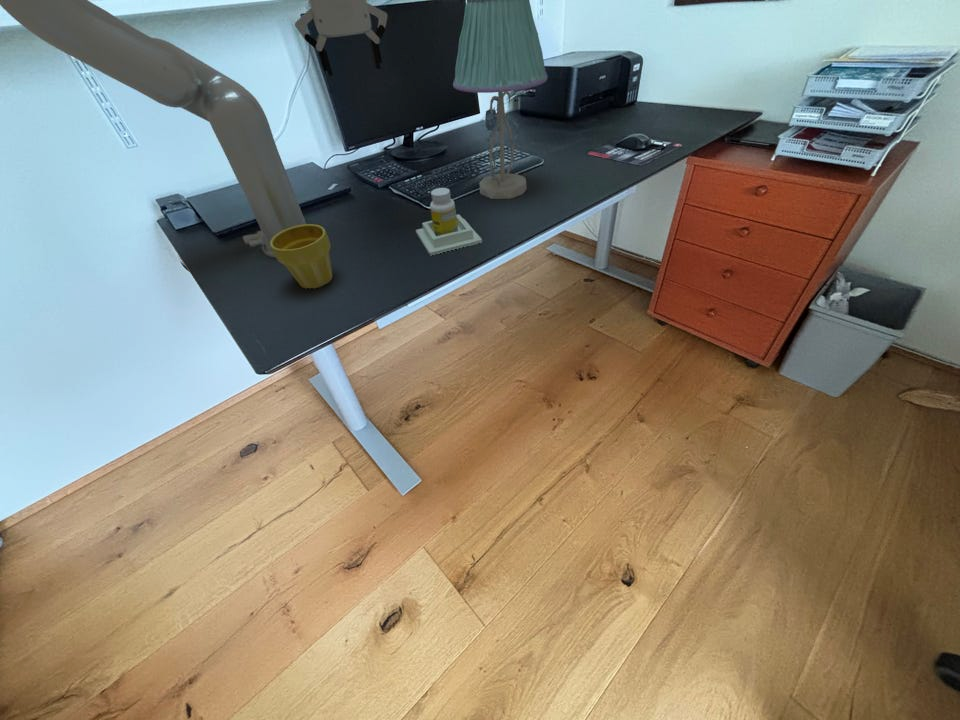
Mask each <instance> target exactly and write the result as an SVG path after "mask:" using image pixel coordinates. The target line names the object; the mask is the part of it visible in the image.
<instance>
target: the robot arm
mask: <svg viewBox="0 0 960 720" xmlns="http://www.w3.org/2000/svg"><path fill="white" fill-rule="evenodd" d="M308 3H309V6H310V8H309V9H308V10H307V11H306V12H305V13H303V15H301V17H299V19H297V20H296V21H295V23H294V26H295V28H296V29H297V31H298V32H299V34H300V35H301V37H303V39H304V40H305V41H306V42H307V43H308V44H309V45H310V46H312V48H314V49H315V50H316V51H317V52H318V55H319V56H318V57H319V59H320V64H321V68H322V71H323V72H326V73H327V75H328V77H332V76H333V72H332V67H331V64H330V61H329V57H328V52H327V50H326V49H325V47H324V46H325V44H326V41H327V39H328V38H338V37H346V36H354V35H361V34H365V36H366V37H368V39H369V40H370V44H369V48H370V53H371V57H372V62H373V67H374V68H375V69H376V70H381V64H382V63H383V59H382V55H381V50H380V45H379V44H380V42H381V39H382V37H383V35H384V34H385V31H386V26H387V21H388V13H387V12H385V11H383V10H382V9H380V8H378V7H376V6H374V5H372V4H371V3H368V2H367V0H308ZM0 7H1V8H3V10H5V11H6V13H7V14H9V15H10V16H11V17H12V18H13V19H14V20H15V21H16V22H18V23H19V24H20V25H21V26H22V27H24V28H25V29H27V30H28V31H29V32H30V33H32V35H35V36H36V37H38V38H39V39H41V40H42V41H44V42H45V43H47V44H49V45H51V46H53V47H54V48H56V49H57V50H59V51H61V52H62V53H64V54H66V55H68V56H70V57H73V58H74V59H76V60H78V61H80V62H82V63H84V64H86V65H87V66H89V67H91V68H93V69H95V70H97V71H99V73H100V72H101V73H102V74H104V75H105V76H108V77H110V78H111V79H113V80H115V81H118V83H119V82H120V83H121V84H123V85H124V86H125V85H126V86H127V87H129V88H131V89H132V90H135V91H137V92H139V93H141V94H142V95H144V96H146V97H148V98H149V99H151V100H153V101H154V102H156V103H158V104H160V105H162V106H163V105H164V106H166V107H169V108H174V109H175V108H181V109H183V110H185V111H186V112H189V113H191V114H193V115H195V116H197V117H199V118H201V119H203V120H205V121H207V122H208V123H209V124H210V126H211V128H212V130H213V133H214V135H215V137H216V139H217V140H218V143H219V145H220V147H221V148H222V151H223V153H224V155H225V157H226V159H227V161H228V163H229V165H230V167H231V169H232V172H233V174H234V175H235V178H236V180H237V183H238V184H239V186H240V188H241V190H242V192H243V194H244V196H245V198H246V201H247V203H248V205H249V207H250V209H251V211H252V213H253V215H254V218H255V219H256V222H257V224H258V226H259V228H260V230H259V231H256V233H254V234H247V235H243V236H242V239H243V241H244V243H245V245H246V246H247V245H249V246H250V247H251V248H252V247H257V246H260V245H261V249H262V252H263V253H264V254H265V255H266V256H268V257H270V258H275V259H277V258H276V256H275V254H274V252H273V250H272V248H271V246H270V241H271V239H272V238H273V237H274V236H275V235H276V234H278V233H279V232H281V231H283V230H285V229H288V228H291V227H294V226H298V225H304V224H307V222H306V219H305V217H304V215H303V212H302V210H301V207H300V204H299V202H298V198H297V196H296V194H295V191H294V189H293V185H292V183H291V181H290V178H289V176H288V172H287V170H286V168H285V165H284V164H283V160H282V158H281V156H280V153H279V150H278V148H277V144H276V142H275V138H274V135H273V132H272V129H271V125H270V123H269V121H268V118H267V115H266V114H265V113H266V112H265V111H264V109H263V107H262V105H261V104H260V103H259V101H258V99H257V98H256V97H255V96H254V95H253V94H252V93H251V92H250V91H249V90H247V89H246V88H245V87H244V86H243V85H241V84H240V83H238V82H237V81H236V80H234V79H232V78H231V77H229V76H227V75H225V74H224V73H223V72H221V71H219V70H217V69H216V68H215V67H212V66H210V65H209V64H207V63H205V62H203V61H202V60H200V59H198V58H196V57H195V56H193V55H192V54H191V53H189V52H186V51H185V50H184V49H182V48H181V47H178V46H176V45H175V44H173V43H172V42H169V41H166V40H165V39H161V38H158V37H151V36H149V35H148V34H146V33H144V32H142V31H140V30H139V29H137V28H135V27H133V26H132V25H130V24H128V23H126V22H124V21H123V20H121V19H119V18H117V17H116V16H115V15H114V14H112V13H110V12H109V11H108V10H105V9H103V8H101V7H100V6H98V5H96V4H95V3H93V2H91V1H90V0H0ZM370 14H371V15H373V16H375V17H376V18H377V19H378V24H377V27H376V29H375V30H373V29H372V19H371V15H370ZM312 20H313V22H314V25H315V28H316V31H317V33H318V34H317V37H316V39H315V38H314V37H313V36H311V35H310V33H309V32H308V31H307V28H306V26H307V25H309V23H310V22H312Z"/></svg>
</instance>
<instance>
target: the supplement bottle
mask: <svg viewBox="0 0 960 720" xmlns="http://www.w3.org/2000/svg"><path fill="white" fill-rule="evenodd" d="M430 195H431V200H432V201H431V202H430V205H429V208H430V209H429V210H430V216H431V221H432V222H433V228H434V234H435V235H436V236H440V235H444V234H448V233H452V232H456V231H458V226H457V218H456V215H457V212H456V204H455V200H453V199H452V198H451V190H450V189H449V188H447V187H438V188H434V189H433V190H431V191H430Z"/></svg>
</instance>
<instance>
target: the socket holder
mask: <svg viewBox="0 0 960 720" xmlns="http://www.w3.org/2000/svg"><path fill="white" fill-rule="evenodd" d="M456 218H457V226H458V231H456V232H452V233H448V234H444V235H440V236H436V235H435V234H434V228H433V222H432V220H428V221H425V222H422V223H421V226H422V228H418V229H415V234H416V235H417V237H418V238H419V241H420V242H421V243H422V245H423V246H424V248H425V250H426V251H427V253H428V255H429V254H430V255H429V256H430V257H431V256H432V255H433V256H437V255H440V253H441V254H444V253H443V252H445V253H448V252H447V251H449V252H452V251H451V250H453V251H455V249H457V250H460V249H463V247H464V248H467V246H468V247H471V246H476V245H479V243H480V244H482V243H483V239H482V238H481V236H480V235H479V234H478V233H477V232H476V231H475V229H473V228H472V226H471V224H469V222H467V220H466V219H465V218H463V217H462V216H461V215H460V214H456ZM459 248H460V249H459ZM436 254H437V255H436ZM433 256H432V257H433Z"/></svg>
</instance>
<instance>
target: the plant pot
mask: <svg viewBox="0 0 960 720" xmlns="http://www.w3.org/2000/svg"><path fill="white" fill-rule="evenodd" d="M270 246H271V248H272V250H273V252H274V254H275V256H276V258H275V259H277V261H278V262H279V263H280V264H282V265H284V266H285V267H286V269H287V270H288V271H289V273H290V274H291V275H292V276H293V277H294V279H295V281H297V283H298V284H299V286H300V287H301V288H304V289H307V288H309V290H311V289H310V288H313V289H317V288H321V287H324V286H325V284H326V285H327V284H328V283H330V282H331V281H332V279H333V275H334V274H333V268H332V263H331V262H332V261H331V256H330V250H331V247H332V246H331V242H330V239H329V236H328V233H327V231H326V229H325V228H324V227H323V226H321V225H319V224H312V223H306V224H304V225H298V226H294V227H291V228H288V229H285V230H283V231H281V232H279V233H278V234H276V235H275V236H274V237H273V238H272V239H271V241H270ZM323 285H324V286H323Z"/></svg>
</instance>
